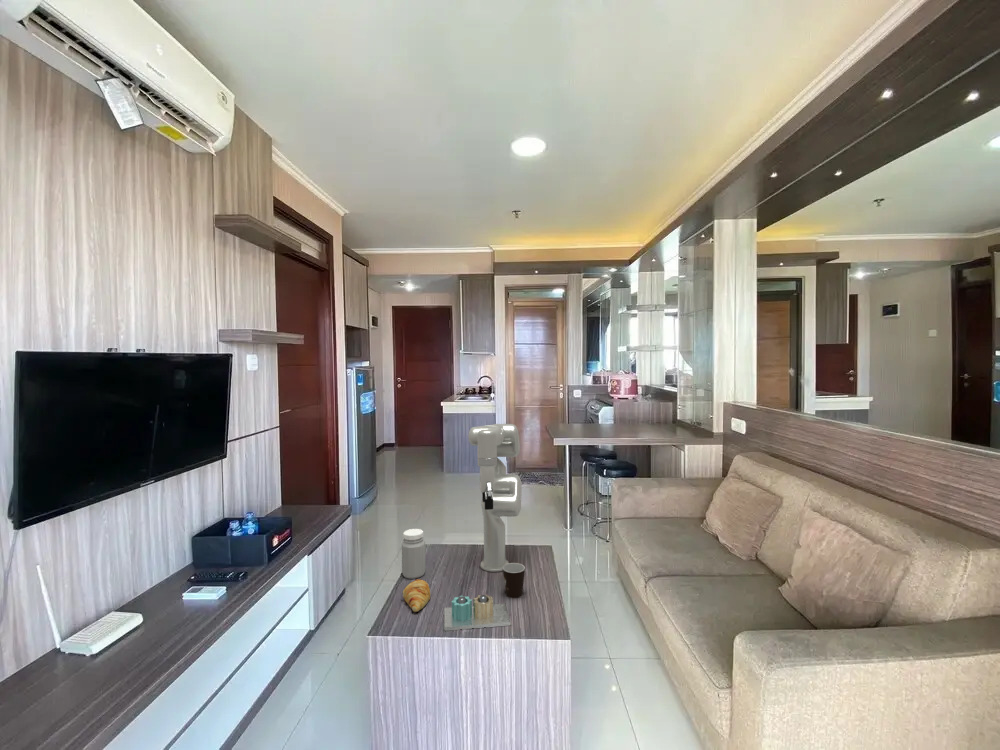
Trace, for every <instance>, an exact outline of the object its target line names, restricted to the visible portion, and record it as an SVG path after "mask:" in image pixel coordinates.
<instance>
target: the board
mask: <svg viewBox="0 0 1000 750" xmlns="http://www.w3.org/2000/svg"><path fill="white" fill-rule="evenodd" d="M458 597H459V598H458V603H459V604H465V597H466V596H465V597H460V596H458ZM443 614H444V616H443V617H444V624H443V628H444V629H443V630H444V632H449V631H450V632H451V631H459V630H460V629H462V630H471V629H472V628H474V629H483V628H484V627H486V628H495V627H506V626H511V619H510V615H509V612H508V608H507V604H506V603H505V602H503V603H494V598H493V596H489V595H488V594H478V595H477V596H476V597H473V600H472V615H470V619H466V620H464V621H461V620H458V619H457V620H454V617H452V606H449V607H444V613H443ZM484 629H485V628H484ZM472 630H473V629H472ZM460 631H461V630H460Z"/></svg>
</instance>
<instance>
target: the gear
mask: <svg viewBox="0 0 1000 750" xmlns="http://www.w3.org/2000/svg"><path fill="white" fill-rule="evenodd" d="M459 597H465V604H459V603H458V598H459ZM472 606H473V600H472V598H471V599H470V596H467V595H466V596H463V595H459V596H457V597H453V600H451V607H452V617H454V620H457V619H458V620H461V621H464V620H466V619H470V615H472Z"/></svg>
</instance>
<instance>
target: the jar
mask: <svg viewBox="0 0 1000 750" xmlns="http://www.w3.org/2000/svg"><path fill="white" fill-rule="evenodd" d="M402 538H403V539H402V540H403V542H402V543H401V574H402V573H403V574H402V575H403V577H404V578H405V579H410V580H412V579H414V580H416V579H419V578H421V577H423V576H424V574H425V572H426V541H425V540H424V531H423V530H422V529H421V528H410V529H406V530H404V531H403V535H402Z"/></svg>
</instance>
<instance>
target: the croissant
mask: <svg viewBox="0 0 1000 750" xmlns="http://www.w3.org/2000/svg"><path fill="white" fill-rule="evenodd" d="M402 598H403V599H404V602H405V603H407V605H408V607H409V608H411V609H412V612H414V613H417V612H419V611H420V610H422V609H423V608H424V607H425V606H427V604H428V602H430V599H431V589H430V585H429V583H428V582H427V581H425V580H424V579H423V580H422V579H419V578H415V579H414V580H413V581H411V582H409V583H408V584H407V585H406V586H405V588H404V589H403V591H402Z"/></svg>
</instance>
